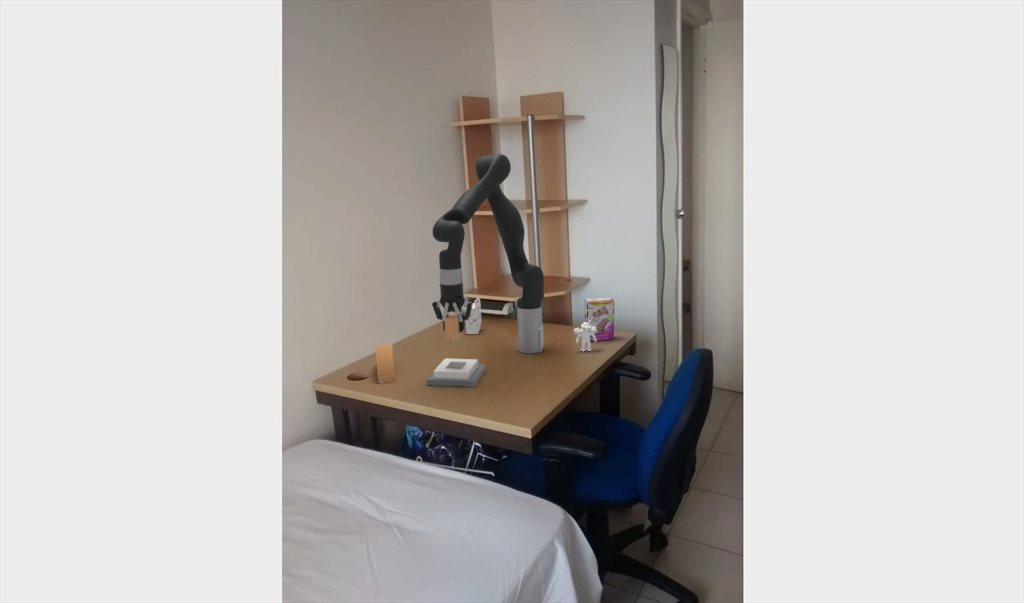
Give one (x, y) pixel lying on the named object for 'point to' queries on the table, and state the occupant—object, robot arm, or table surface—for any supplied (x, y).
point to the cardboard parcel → (452, 327)
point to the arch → (385, 363)
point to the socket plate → (457, 382)
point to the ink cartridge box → (474, 318)
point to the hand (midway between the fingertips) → (454, 331)
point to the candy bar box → (600, 317)
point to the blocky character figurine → (585, 335)
